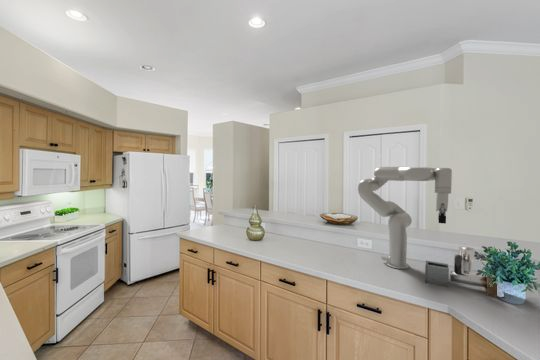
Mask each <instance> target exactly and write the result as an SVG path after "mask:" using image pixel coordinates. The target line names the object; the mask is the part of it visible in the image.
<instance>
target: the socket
mask: <svg viewBox="0 0 540 360" xmlns="http://www.w3.org/2000/svg"><path fill="white" fill-rule="evenodd" d="M484 277H486V276H485V275H484ZM491 281H492V279H491V277H490V276H487V288H484V287H483V289H484V291H485V293H486V295H487V296H490V297H495V298H498V297H497V284H496V283H494V284H493V287H490V284H489V283H490V282H491Z"/></svg>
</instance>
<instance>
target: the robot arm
mask: <svg viewBox="0 0 540 360" xmlns="http://www.w3.org/2000/svg"><path fill="white" fill-rule="evenodd" d="M373 175H374V176H373V177H372V178H364V179H362V180H361V181H360V182H359V183H358V187H357V191H358V195H359V196H360V198H361V199H362V200H363V201H364V202H365V203H366V204H368V206H369V207H371V208H372V210H374V212H376V213H377V214H378V215H379V216H381V217H382V218H387V217H389V219H388V230H389V231H388V233H389V235H388V236H389V244H388V247H389V249H388V252H389V253H388V256H383V255H381V260H383V261H384V262H386V265H387V266H388V267H390V268H393V269H398V270H406V269H409V268H410V265H409V263H407V249H408V248H407V245H408V244H407V241H408V239H407V238H408V237H407V235H408V234H407V228H409V227H411V224H412V221H413V219H412V217H411V216H410V214H409V213H407V211H406V210H404V209H403V208H402V207H400V205H398V204H397V203H395V202H393V201H391V200H384V198H382V197H381V196H379V194H377V193H375V192H376V191H378V190H379V189H380V188H382V187H383V186H384V185H386V183H388V182H389V181H393V182H394V181H395V182H396V181H398V182H399V181H400V182H404V181H405V182H406V181H413V182H429V181H434V193H435V194H436V202H435V205H436V206H435V208H436V209H435V211H436V212H438V218H437V219H438V224H447V215H446V214H447V212H448V206H449V195H450V194H452V180H453V179H452V178H453V176H452V175H453V173H452V168H450V167H425V166H424V167H405V166H379V167H377V168H375V170H374V172H373Z"/></svg>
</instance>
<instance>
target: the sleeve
mask: <svg viewBox="0 0 540 360" xmlns="http://www.w3.org/2000/svg"><path fill="white" fill-rule="evenodd" d="M424 269H425V271H424V272H425V273H424V281H425V282H424V283H425V284H429V285H434V286H440V287H444V288H449V281H450V270H449V263H445V262H444V263H443V262H438V261H431V260H425V268H424Z"/></svg>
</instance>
